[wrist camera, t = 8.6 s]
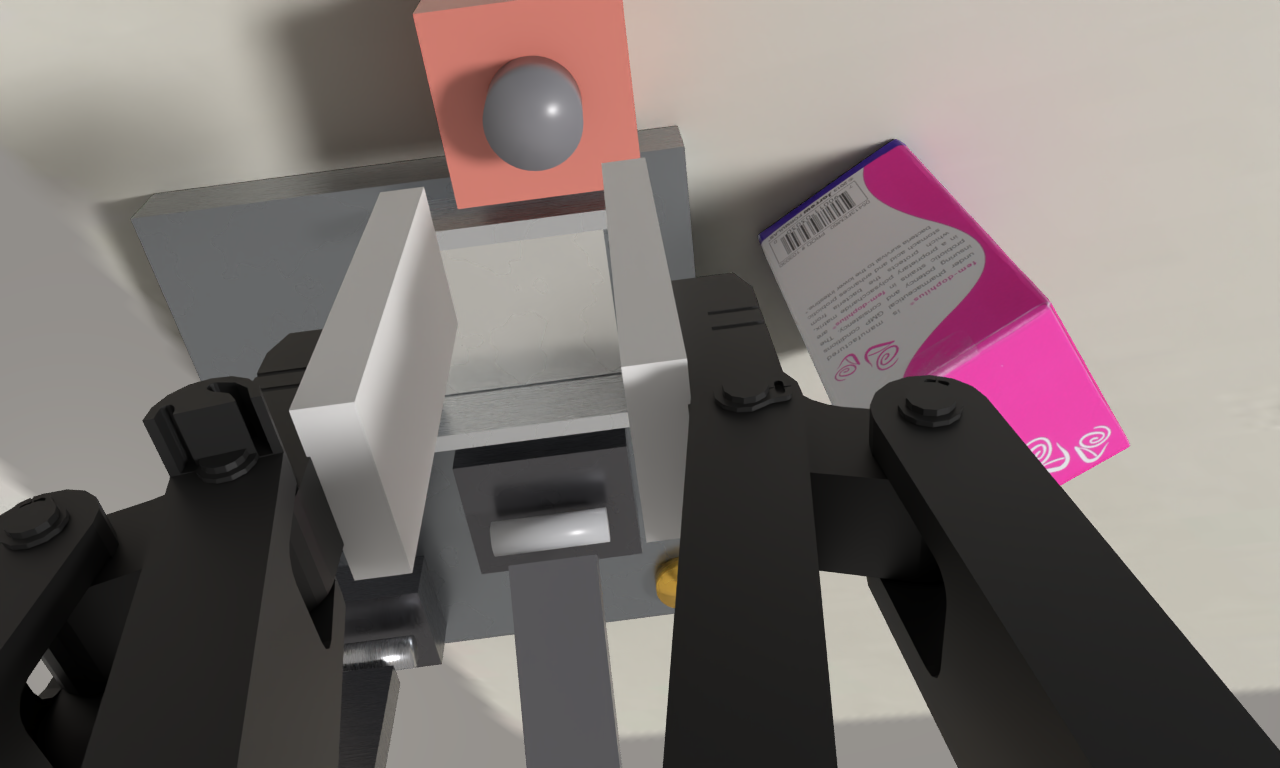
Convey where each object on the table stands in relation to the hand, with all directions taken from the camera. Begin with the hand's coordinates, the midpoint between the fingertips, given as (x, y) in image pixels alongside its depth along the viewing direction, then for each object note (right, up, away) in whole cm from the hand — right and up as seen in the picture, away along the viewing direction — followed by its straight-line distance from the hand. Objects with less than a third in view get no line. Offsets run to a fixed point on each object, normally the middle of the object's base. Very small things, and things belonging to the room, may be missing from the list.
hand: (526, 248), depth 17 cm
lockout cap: (-1, +8, +12) cm, 15 cm away
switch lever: (-1, -8, +16) cm, 18 cm away
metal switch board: (-4, -3, +19) cm, 20 cm away
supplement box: (+10, +3, +17) cm, 20 cm away
